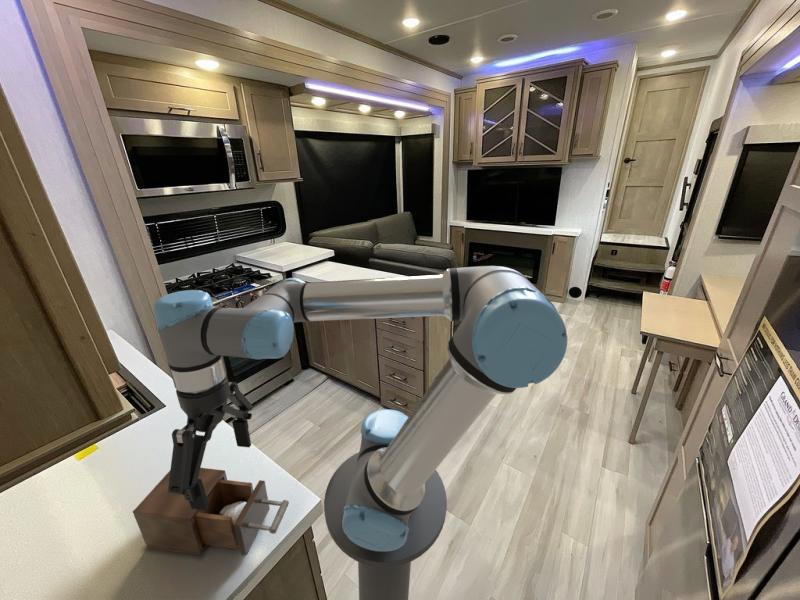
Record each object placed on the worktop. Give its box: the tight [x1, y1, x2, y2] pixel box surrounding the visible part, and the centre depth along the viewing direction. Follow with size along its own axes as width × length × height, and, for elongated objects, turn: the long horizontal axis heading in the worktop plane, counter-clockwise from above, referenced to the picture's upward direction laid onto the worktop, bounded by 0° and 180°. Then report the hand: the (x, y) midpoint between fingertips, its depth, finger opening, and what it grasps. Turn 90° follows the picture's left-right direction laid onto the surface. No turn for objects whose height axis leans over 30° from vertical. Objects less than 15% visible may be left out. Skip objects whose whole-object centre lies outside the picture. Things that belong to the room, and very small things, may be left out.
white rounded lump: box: [220, 501, 247, 529], centre depth 66 cm, size 6×6×5 cm
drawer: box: [194, 479, 290, 556], centre depth 65 cm, size 16×9×9 cm, turn 84°
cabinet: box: [132, 467, 228, 556], centre depth 66 cm, size 12×11×11 cm
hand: (224, 473), depth 61 cm, fingers open, 13 cm apart
